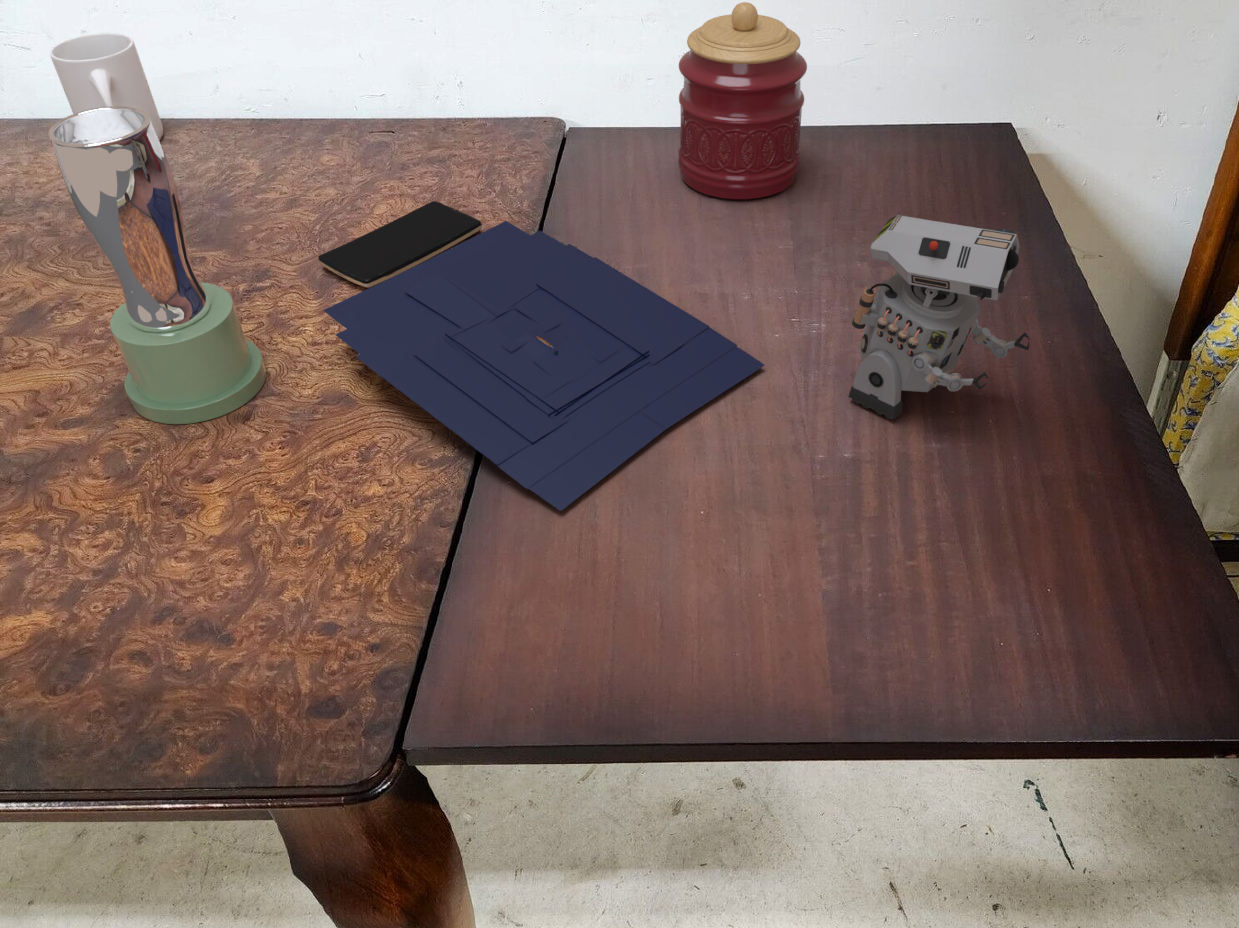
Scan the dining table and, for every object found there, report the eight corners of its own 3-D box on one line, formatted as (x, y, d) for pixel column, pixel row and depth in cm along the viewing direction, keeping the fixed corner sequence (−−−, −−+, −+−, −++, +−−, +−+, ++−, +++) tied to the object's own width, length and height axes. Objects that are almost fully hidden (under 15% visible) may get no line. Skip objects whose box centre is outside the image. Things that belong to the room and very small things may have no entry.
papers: (521, 238, 103) (520, 204, 100) (762, 388, 91) (769, 355, 88) (309, 345, 90) (301, 310, 87) (557, 538, 77) (557, 504, 75)
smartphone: (314, 256, 101) (434, 199, 109) (317, 267, 102) (436, 209, 110) (363, 282, 97) (484, 220, 106) (366, 293, 98) (485, 231, 106)
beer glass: (121, 299, 85) (44, 114, 75) (212, 280, 87) (149, 98, 77) (126, 344, 80) (44, 153, 70) (221, 323, 82) (156, 135, 72)
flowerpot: (119, 432, 84) (85, 358, 79) (142, 355, 91) (112, 284, 87) (261, 415, 85) (236, 341, 80) (271, 340, 93) (249, 269, 88)
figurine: (955, 454, 80) (996, 281, 70) (832, 394, 86) (852, 225, 76) (1015, 400, 85) (1061, 230, 75) (894, 346, 91) (922, 181, 81)
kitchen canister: (733, 138, 122) (739, -27, 110) (822, 173, 115) (839, 1, 103) (653, 176, 115) (650, 4, 103) (744, 214, 109) (752, 36, 97)
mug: (89, 175, 117) (50, 77, 110) (85, 133, 125) (48, 39, 118) (171, 160, 120) (138, 63, 112) (162, 120, 128) (130, 27, 120)
